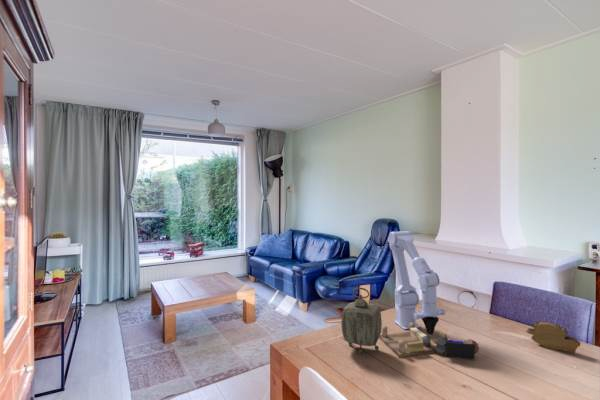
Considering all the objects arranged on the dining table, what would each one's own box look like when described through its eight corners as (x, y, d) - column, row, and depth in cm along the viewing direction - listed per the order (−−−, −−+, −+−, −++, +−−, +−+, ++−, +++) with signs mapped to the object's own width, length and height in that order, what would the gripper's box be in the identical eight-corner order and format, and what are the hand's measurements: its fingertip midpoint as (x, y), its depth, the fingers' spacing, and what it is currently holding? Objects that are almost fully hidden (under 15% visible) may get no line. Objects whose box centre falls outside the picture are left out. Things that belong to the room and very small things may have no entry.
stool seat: (378, 338, 136) (378, 325, 136) (414, 333, 139) (414, 321, 139) (399, 357, 119) (398, 343, 119) (439, 351, 122) (438, 338, 122)
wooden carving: (580, 352, 119) (580, 326, 119) (580, 357, 116) (579, 330, 116) (527, 340, 130) (526, 316, 130) (525, 344, 127) (525, 319, 127)
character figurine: (434, 350, 125) (477, 356, 119) (435, 357, 118) (481, 364, 113) (434, 330, 125) (477, 335, 120) (435, 336, 118) (480, 342, 113)
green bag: (382, 348, 126) (380, 286, 126) (377, 359, 118) (376, 293, 118) (347, 342, 132) (345, 283, 132) (340, 352, 124) (339, 289, 124)
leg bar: (432, 346, 124) (431, 338, 124) (425, 347, 124) (425, 339, 124) (415, 334, 135) (415, 326, 135) (409, 335, 135) (409, 327, 135)
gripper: (421, 306, 126) (422, 340, 126) (450, 302, 130) (451, 334, 131) (410, 301, 133) (410, 333, 133) (438, 297, 137) (438, 328, 137)
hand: (430, 333), depth 132 cm, fingers closed
